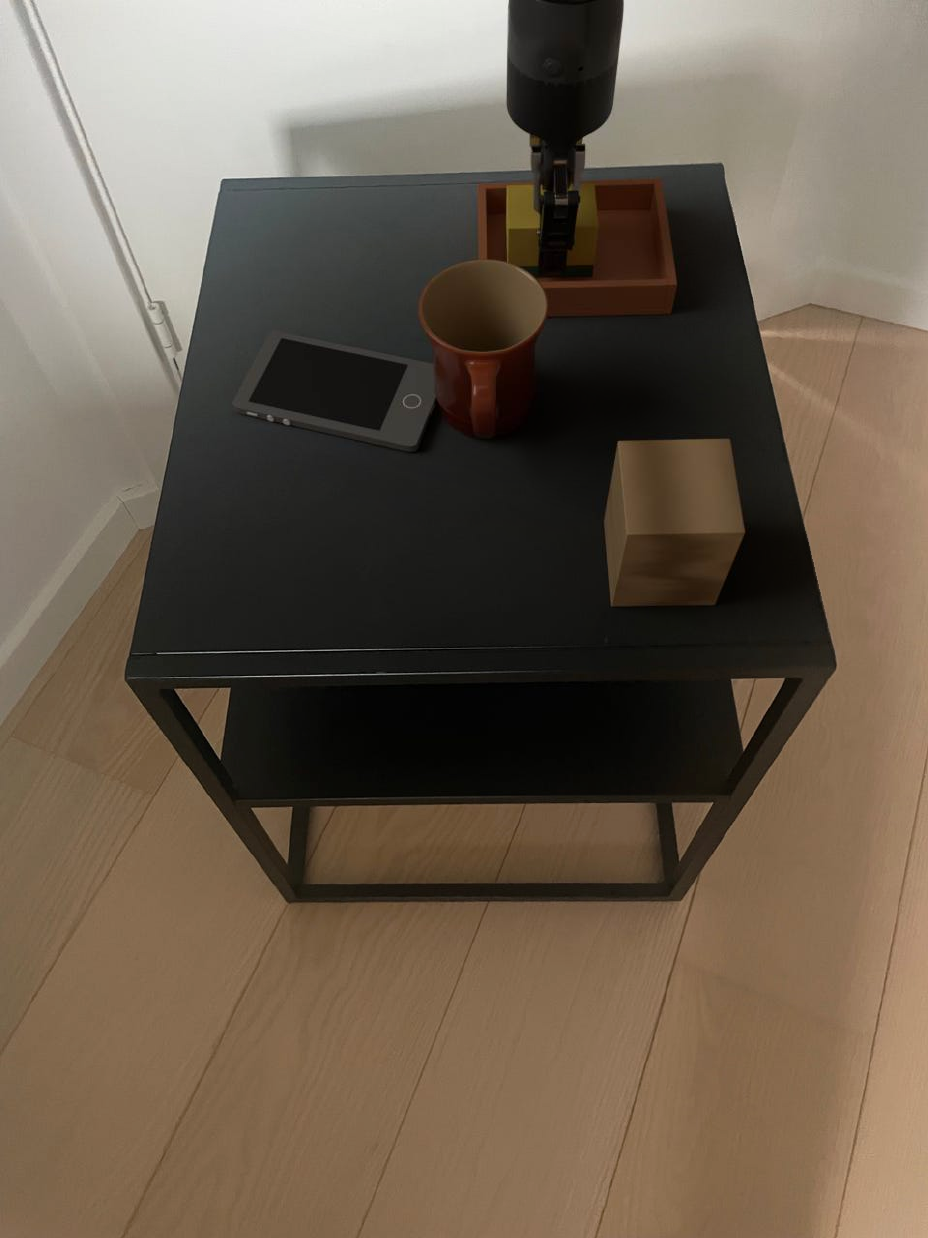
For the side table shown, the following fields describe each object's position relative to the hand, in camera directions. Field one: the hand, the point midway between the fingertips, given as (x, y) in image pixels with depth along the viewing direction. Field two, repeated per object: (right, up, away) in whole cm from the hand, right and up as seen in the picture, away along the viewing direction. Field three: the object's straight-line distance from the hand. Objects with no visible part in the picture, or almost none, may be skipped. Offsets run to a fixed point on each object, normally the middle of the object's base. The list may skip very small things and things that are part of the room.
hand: (550, 248), depth 79 cm
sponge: (0, 0, +1) cm, 1 cm away
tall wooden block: (+6, -27, -13) cm, 30 cm away
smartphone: (-17, -13, -5) cm, 22 cm away
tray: (+2, -1, +1) cm, 2 cm away
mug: (-5, -16, -6) cm, 18 cm away
